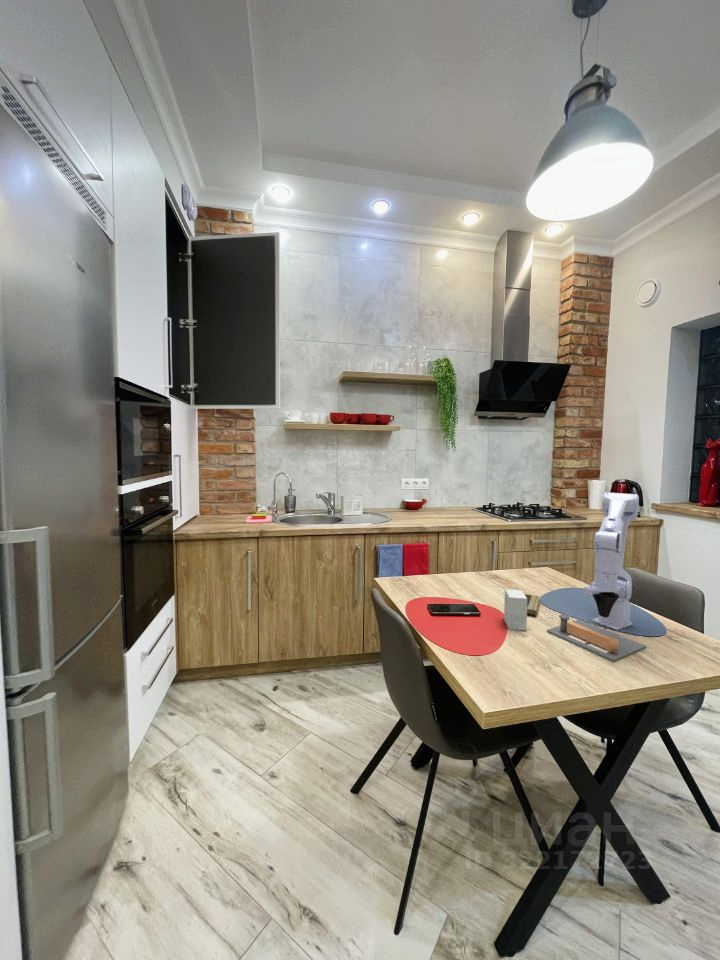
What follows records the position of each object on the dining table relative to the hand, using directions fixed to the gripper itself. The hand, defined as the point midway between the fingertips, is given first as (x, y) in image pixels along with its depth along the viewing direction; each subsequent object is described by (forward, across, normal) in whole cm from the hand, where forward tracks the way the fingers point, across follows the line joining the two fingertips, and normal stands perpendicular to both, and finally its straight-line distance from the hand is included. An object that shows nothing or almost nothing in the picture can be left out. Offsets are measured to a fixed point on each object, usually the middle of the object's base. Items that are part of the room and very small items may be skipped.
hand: (603, 616), depth 113 cm
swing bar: (+7, +5, 0) cm, 8 cm away
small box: (+8, +17, -18) cm, 26 cm away
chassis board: (+8, +1, -2) cm, 8 cm away
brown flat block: (+9, +2, -28) cm, 29 cm away
